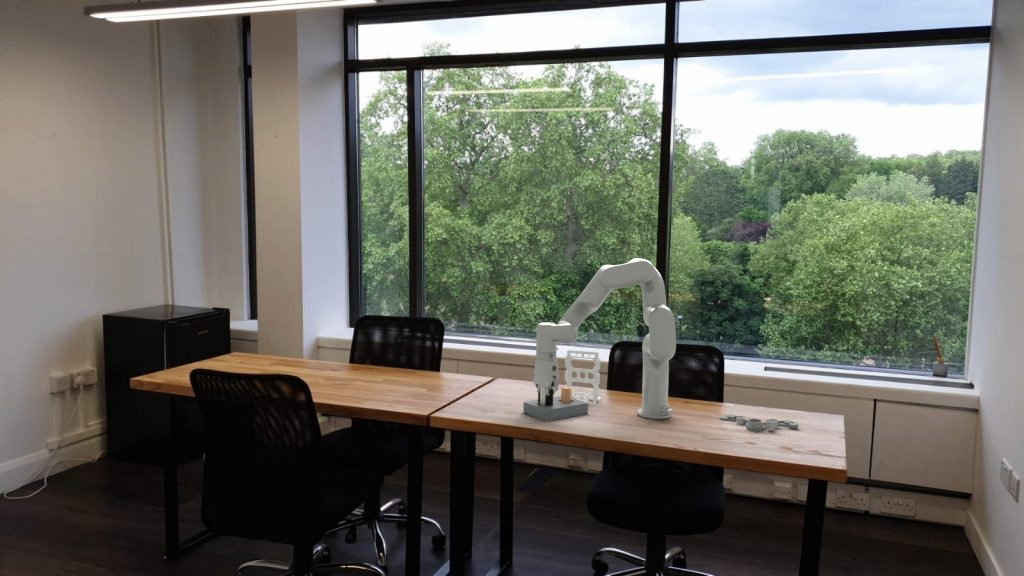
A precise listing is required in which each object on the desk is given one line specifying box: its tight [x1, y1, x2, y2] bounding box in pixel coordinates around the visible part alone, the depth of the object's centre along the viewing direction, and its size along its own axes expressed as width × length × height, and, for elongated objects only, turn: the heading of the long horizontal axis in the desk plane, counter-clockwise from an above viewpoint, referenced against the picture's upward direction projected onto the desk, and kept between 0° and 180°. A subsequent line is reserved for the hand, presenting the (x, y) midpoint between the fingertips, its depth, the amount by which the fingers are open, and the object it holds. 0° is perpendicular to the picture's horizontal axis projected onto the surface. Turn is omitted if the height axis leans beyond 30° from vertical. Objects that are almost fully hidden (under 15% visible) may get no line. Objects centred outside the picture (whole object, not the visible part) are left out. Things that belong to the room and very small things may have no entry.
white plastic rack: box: [564, 349, 602, 406], centre depth 289 cm, size 14×14×20 cm
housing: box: [522, 395, 589, 422], centre depth 270 cm, size 14×20×4 cm
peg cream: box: [540, 385, 551, 407], centre depth 267 cm, size 4×4×9 cm
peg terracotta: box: [560, 386, 573, 403], centre depth 273 cm, size 4×4×9 cm
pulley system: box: [719, 413, 799, 433], centre depth 256 cm, size 27×5×15 cm
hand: (545, 403), depth 267 cm, fingers closed on peg cream, 3 cm apart
